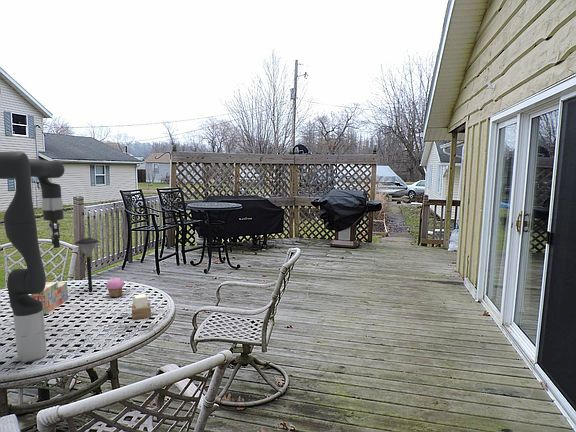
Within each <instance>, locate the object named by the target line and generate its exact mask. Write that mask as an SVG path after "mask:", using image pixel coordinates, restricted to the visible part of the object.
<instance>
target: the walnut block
mask: <svg viewBox="0 0 576 432" xmlns="http://www.w3.org/2000/svg"><path fill="white" fill-rule="evenodd" d="M147 302H148V301H147ZM151 310H152V308H151V301H149V302H148V307H145V308H139V309H136V308H135V306H134V304H133V303H132V307H131V315H132V316H131V317H132V319H131V320H132V321H134V320H135V321H136V320H143V319H151V317H152V313H151Z"/></svg>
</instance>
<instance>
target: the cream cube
mask: <svg viewBox="0 0 576 432" xmlns="http://www.w3.org/2000/svg"><path fill="white" fill-rule="evenodd" d="M133 298H134V306H135V308H136V309H139V308H145V307H148V296H147V294H146V293H142V294H134V295H133Z"/></svg>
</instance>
